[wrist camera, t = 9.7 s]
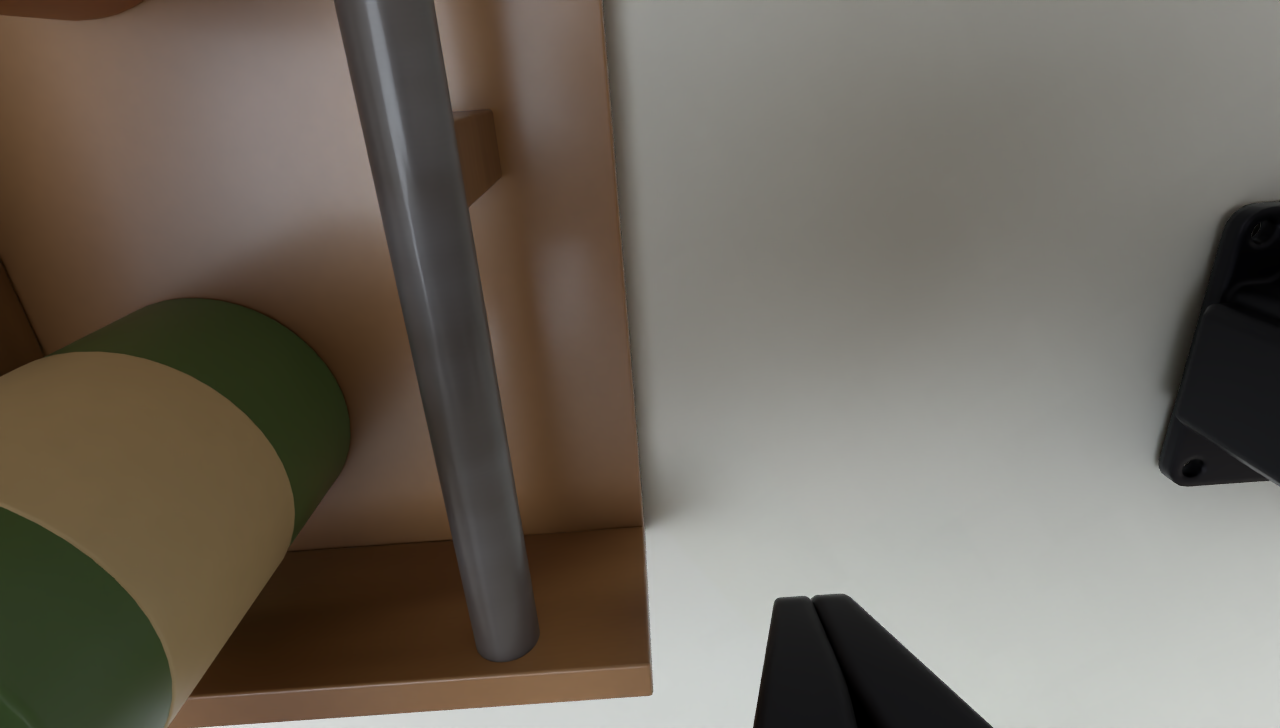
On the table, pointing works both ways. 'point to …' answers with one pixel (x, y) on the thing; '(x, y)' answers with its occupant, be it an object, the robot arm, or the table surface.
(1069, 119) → the table surface
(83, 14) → the amber bottle
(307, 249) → the rack
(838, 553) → the table surface
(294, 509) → the green bottle
